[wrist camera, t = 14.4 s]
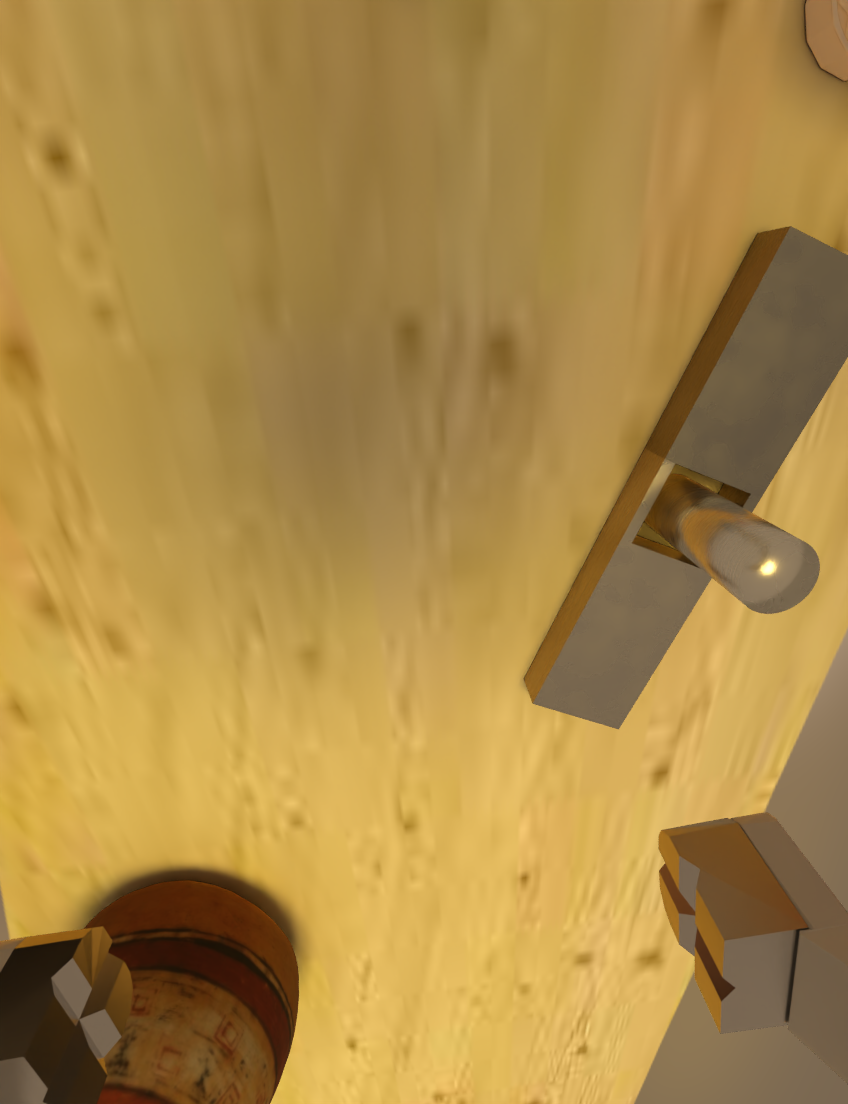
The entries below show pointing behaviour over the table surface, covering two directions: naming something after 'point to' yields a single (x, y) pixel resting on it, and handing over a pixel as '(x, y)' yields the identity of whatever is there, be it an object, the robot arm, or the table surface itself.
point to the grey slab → (699, 470)
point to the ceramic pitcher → (199, 997)
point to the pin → (734, 546)
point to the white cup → (828, 34)
